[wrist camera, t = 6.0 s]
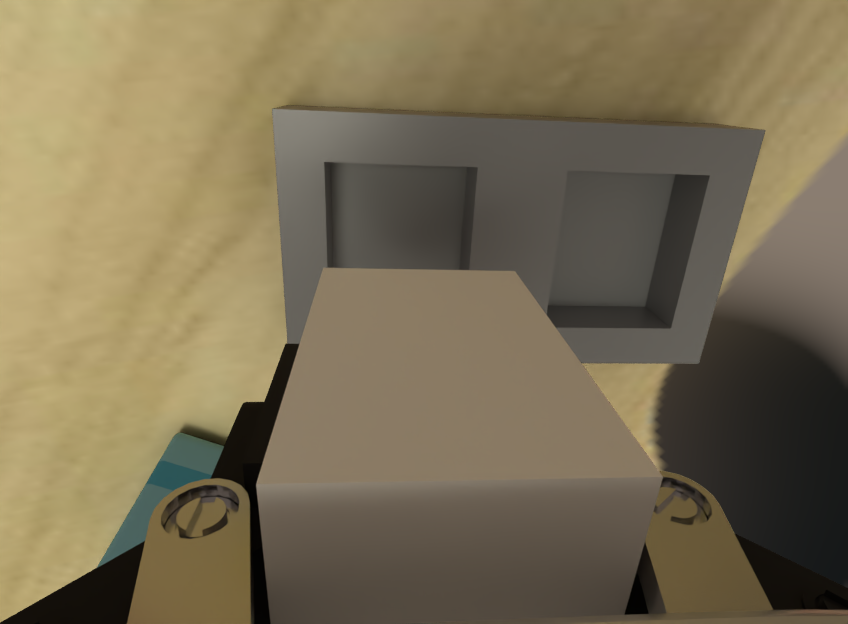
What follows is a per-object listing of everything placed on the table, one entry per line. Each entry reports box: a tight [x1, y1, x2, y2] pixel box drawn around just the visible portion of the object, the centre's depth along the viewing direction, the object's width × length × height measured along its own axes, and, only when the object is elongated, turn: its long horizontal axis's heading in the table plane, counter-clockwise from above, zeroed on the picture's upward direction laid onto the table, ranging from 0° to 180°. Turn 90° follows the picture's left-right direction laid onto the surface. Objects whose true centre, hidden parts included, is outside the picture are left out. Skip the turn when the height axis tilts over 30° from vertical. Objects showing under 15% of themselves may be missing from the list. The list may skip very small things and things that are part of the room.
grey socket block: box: [272, 105, 765, 364], centre depth 25 cm, size 20×11×4 cm, turn 87°
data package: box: [97, 433, 224, 568], centre depth 26 cm, size 12×4×12 cm, turn 154°
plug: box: [256, 268, 663, 624], centre depth 10 cm, size 4×5×7 cm
